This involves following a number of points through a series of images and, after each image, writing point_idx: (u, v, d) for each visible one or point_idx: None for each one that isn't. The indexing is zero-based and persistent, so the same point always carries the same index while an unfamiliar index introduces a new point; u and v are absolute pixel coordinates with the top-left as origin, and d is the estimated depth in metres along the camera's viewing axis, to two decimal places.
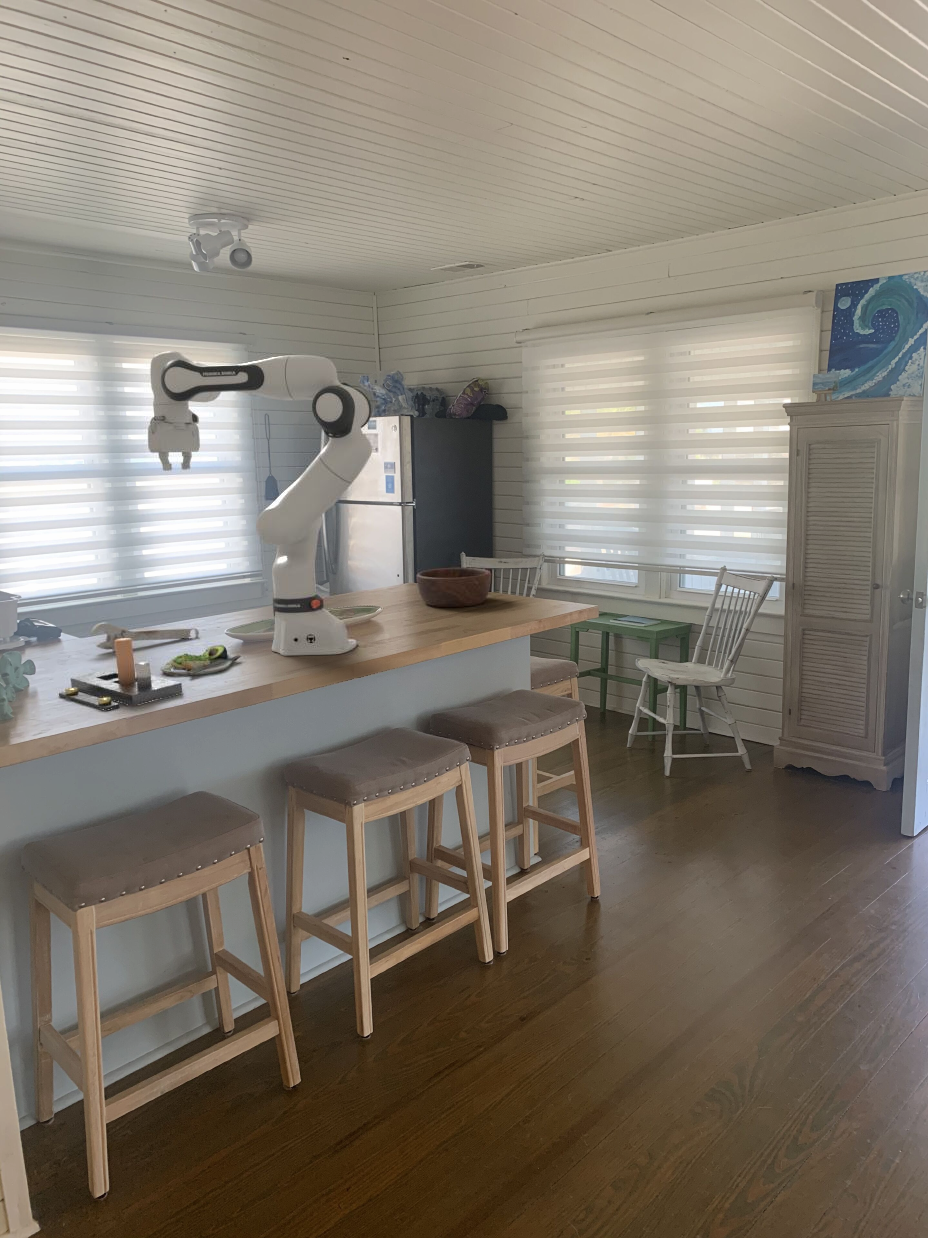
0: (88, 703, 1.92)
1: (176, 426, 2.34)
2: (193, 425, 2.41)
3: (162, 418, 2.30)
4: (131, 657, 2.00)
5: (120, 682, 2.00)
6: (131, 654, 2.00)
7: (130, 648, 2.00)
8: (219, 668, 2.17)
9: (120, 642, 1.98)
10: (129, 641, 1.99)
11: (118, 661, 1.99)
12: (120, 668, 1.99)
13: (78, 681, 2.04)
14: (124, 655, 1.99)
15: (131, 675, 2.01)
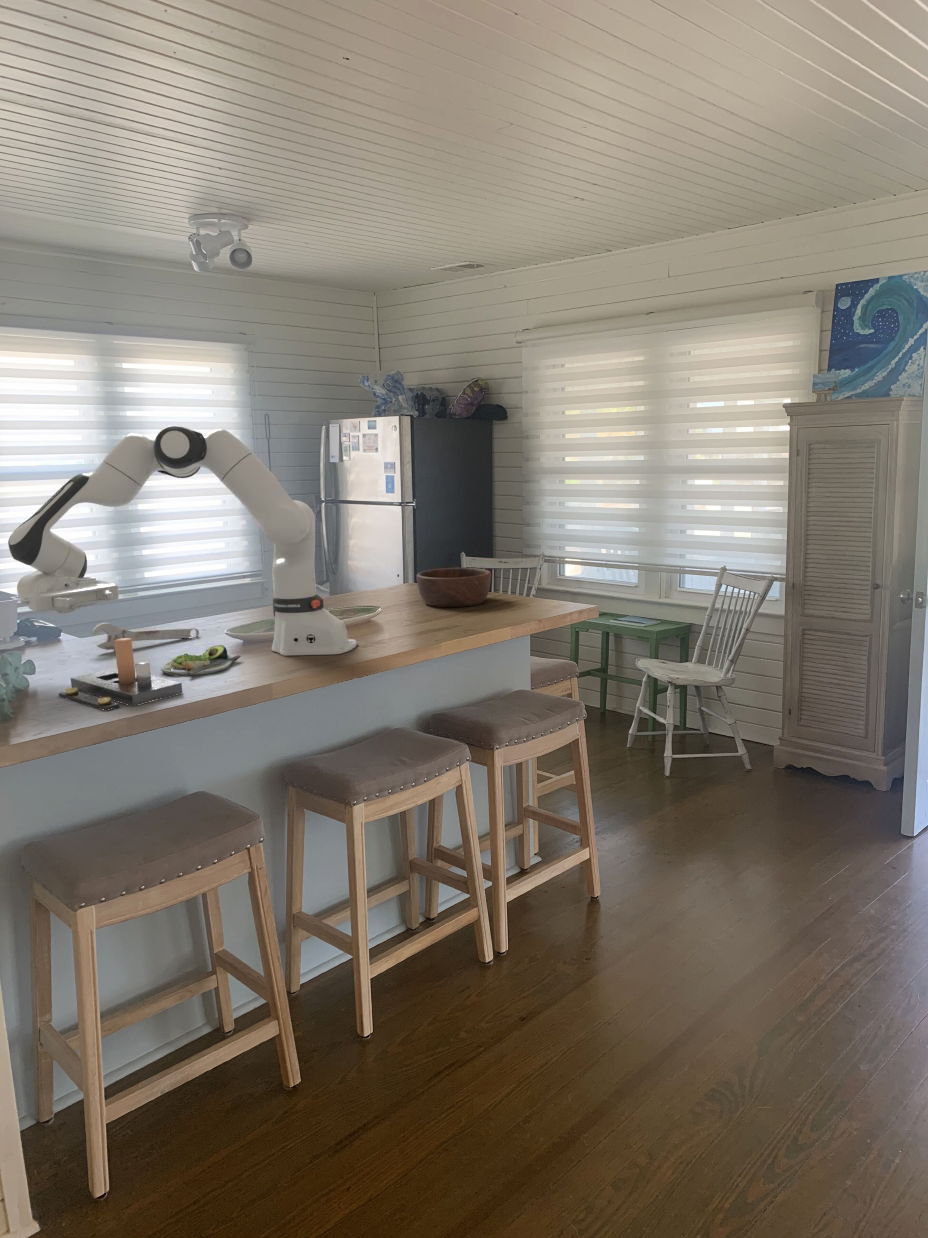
0: (88, 703, 1.92)
1: (57, 587, 2.11)
2: (88, 580, 2.17)
3: None
4: (131, 657, 2.00)
5: (120, 682, 2.00)
6: (131, 654, 2.00)
7: (130, 648, 2.00)
8: (219, 668, 2.17)
9: (120, 642, 1.98)
10: (129, 641, 1.99)
11: (118, 661, 1.99)
12: (120, 668, 1.99)
13: (78, 681, 2.04)
14: (124, 655, 1.99)
15: (131, 675, 2.01)
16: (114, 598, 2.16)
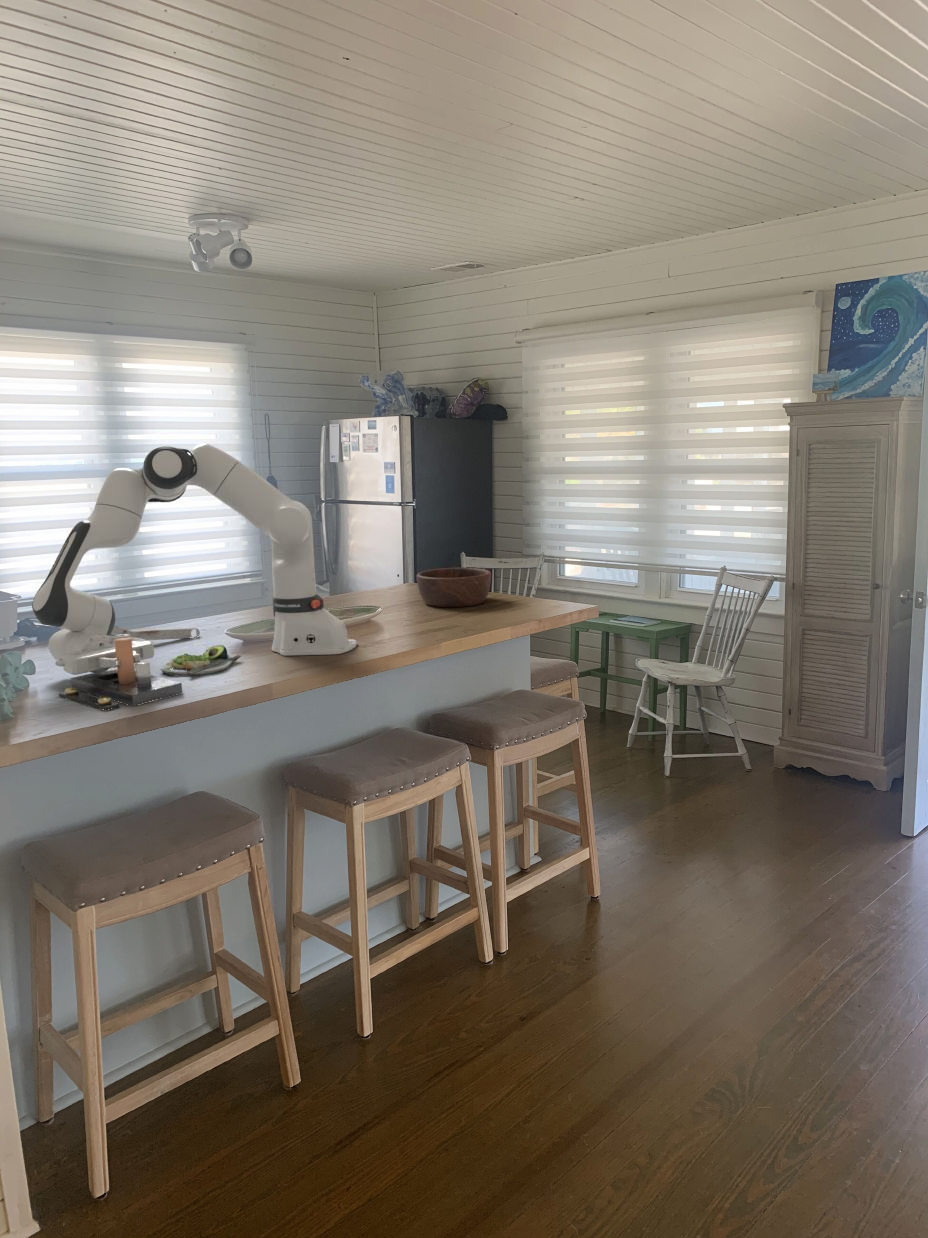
0: (88, 703, 1.92)
1: (91, 647, 2.05)
2: None
3: None
4: (131, 657, 2.00)
5: (120, 682, 2.00)
6: (131, 654, 2.00)
7: (130, 648, 2.00)
8: (219, 668, 2.17)
9: (120, 642, 1.98)
10: (129, 641, 1.99)
11: None
12: (120, 668, 1.99)
13: (78, 681, 2.04)
14: (124, 655, 1.99)
15: (131, 675, 2.01)
16: (150, 656, 2.10)
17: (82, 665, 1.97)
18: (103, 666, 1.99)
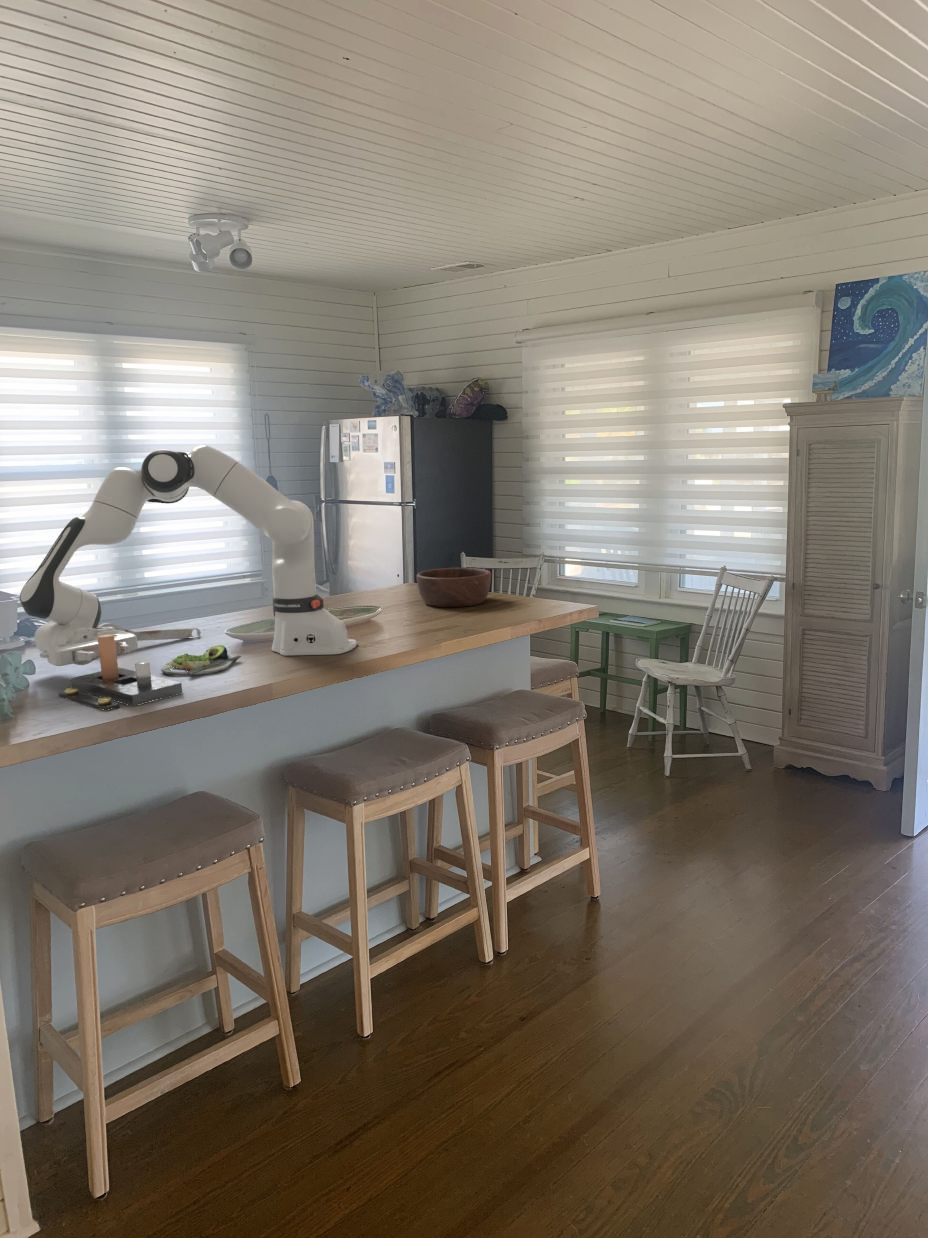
0: (88, 703, 1.92)
1: (75, 639, 2.10)
2: (106, 631, 2.16)
3: None
4: (114, 653, 2.04)
5: (103, 678, 2.05)
6: (114, 650, 2.04)
7: (113, 644, 2.04)
8: (219, 668, 2.17)
9: (103, 639, 2.03)
10: (112, 638, 2.04)
11: (101, 657, 2.04)
12: (103, 664, 2.04)
13: (78, 681, 2.04)
14: (107, 651, 2.03)
15: (114, 671, 2.05)
16: (133, 649, 2.14)
17: (66, 657, 2.01)
18: (79, 659, 2.02)
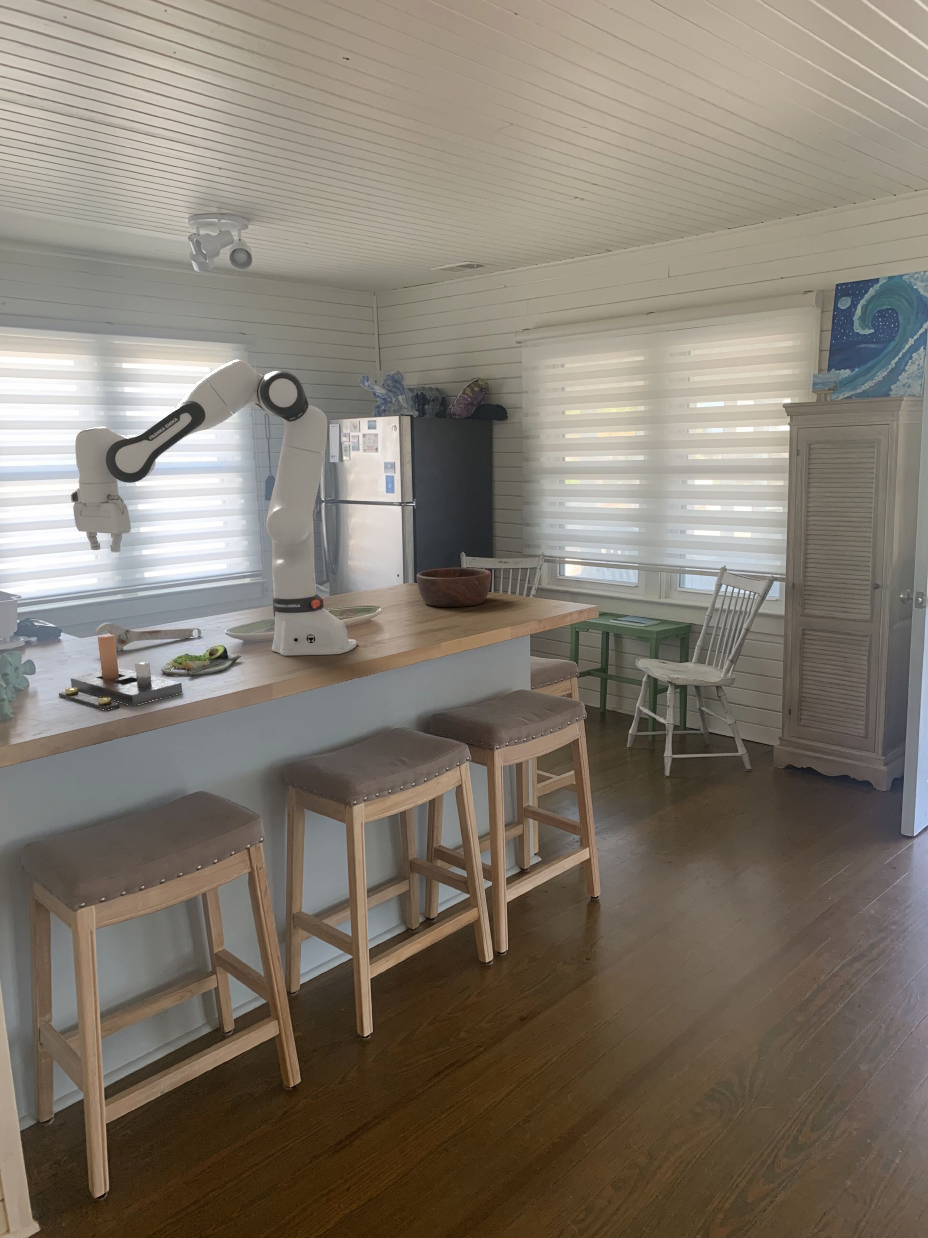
0: (88, 703, 1.92)
1: None
2: None
3: None
4: (114, 653, 2.05)
5: (103, 678, 2.05)
6: (114, 650, 2.04)
7: (113, 644, 2.04)
8: (219, 668, 2.17)
9: (103, 639, 2.03)
10: (112, 638, 2.04)
11: (101, 657, 2.04)
12: (104, 664, 2.04)
13: (78, 681, 2.04)
14: (107, 651, 2.03)
15: (114, 671, 2.05)
16: None
17: None
18: (115, 539, 2.18)
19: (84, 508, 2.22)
